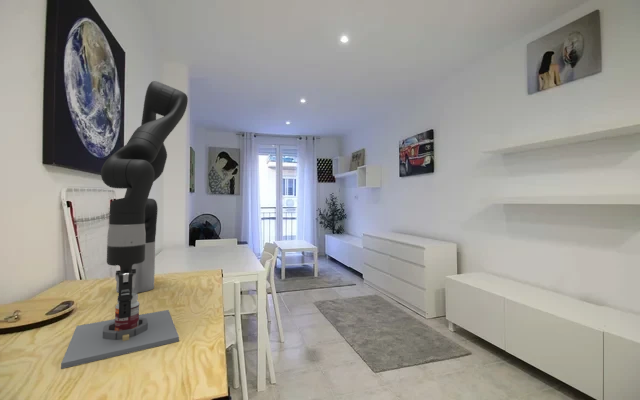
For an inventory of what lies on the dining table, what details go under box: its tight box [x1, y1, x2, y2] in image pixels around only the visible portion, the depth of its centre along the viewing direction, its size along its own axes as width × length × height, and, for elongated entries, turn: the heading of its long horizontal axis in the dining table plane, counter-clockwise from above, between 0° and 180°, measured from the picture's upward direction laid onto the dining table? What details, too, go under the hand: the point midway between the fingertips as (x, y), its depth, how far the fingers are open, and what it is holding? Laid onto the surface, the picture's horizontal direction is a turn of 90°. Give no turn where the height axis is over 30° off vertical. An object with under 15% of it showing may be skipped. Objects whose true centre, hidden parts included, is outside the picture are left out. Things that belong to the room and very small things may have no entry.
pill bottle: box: [114, 293, 140, 331], centre depth 67 cm, size 5×5×8 cm
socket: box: [60, 309, 180, 369], centre depth 67 cm, size 20×20×2 cm
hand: (124, 311), depth 67 cm, fingers open, 8 cm apart
